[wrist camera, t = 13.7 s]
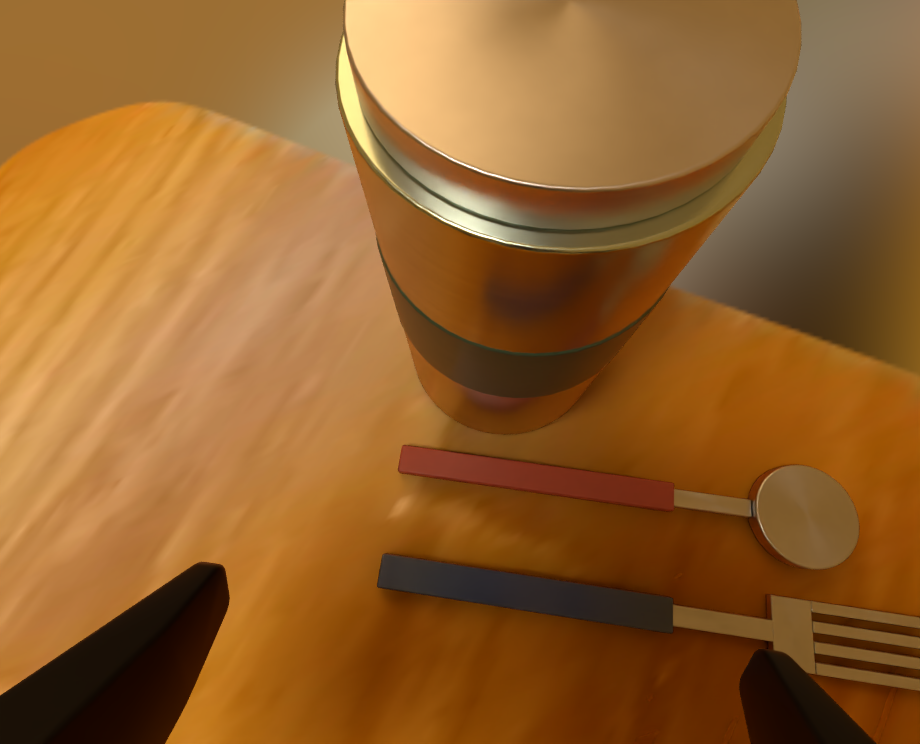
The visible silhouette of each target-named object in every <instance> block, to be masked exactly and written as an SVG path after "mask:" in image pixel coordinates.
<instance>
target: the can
mask: <svg viewBox="0 0 920 744" xmlns="http://www.w3.org/2000/svg"><path fill="white" fill-rule="evenodd" d="M800 50H801V19H800V14H799V9H798V4H797V0H345V1H344V6H343V34H342V36H341V41H340V45H339V50H338V55H337V60H336V81H335V83H336V91H337V99H338V106H339V110H340V113H341V117H342V119H343V123H344V127H345V130H346V134H347V137H348V140H349V144H350V147H351V150H352V153H353V157H354V161H355V164H356V168H357V171H358V174H359V178H360V181H361V185H362V188H363V191H364V195H365V198H366V202H367V205H368V208H369V212H370V215H371V219H372V222H373V225H374V229H375V232H376V238H377V245H378V249H379V252H380V256H381V259H382V262H383V266H384V269H385V272H386V276H387V279H388V282H389V286H390V289H391V292H392V296H393V299H394V302H395V306H396V309H397V312H398V315H399V318H400V322H401V324H402V326H403V328H404V331H405V334H406V338H407V341H408V344H409V348H410V351H411V355H412V358H413V361H414V365H415V368H416V371H417V374H418V378H419V380H420V382H421V384H422V386H423V388H424V390H425V391H426V393H427V394H428V396H429V397H430V398H431V400H432V401H433V402H434V403H435V404H436V405H437V407H439V408H440V409H441V410H442V411H443V412H444V413H445V414H447V415H448V416H449V417H451V418H452V419H454V420H455V421H457V422H459V423H461V424H463V425H465V426H467V427H469V428H472V429H475V430H478V431H482V432H487V433H492V434H504V435H505V434H519V433H524V432H530V431H533V430H536V429H539V428H542V427H544V426H546V425H548V424H550V423H552V422H553V421H555V420H556V419H558V418H559V417H561V416H562V415H563V414H565V413H566V412H567V411H568V410H569V409H570V408H571V407H572V406H573V405H574V404H575V403H576V401H577V400H578V399H579V398H580V397H581V395H582V394H583V393H584V392H585V390H586V389H587V388H588V387H589V385H590V384H591V383H592V382H593V380H594V379H595V378H596V377H597V375H598V374H599V373H600V372H601V370H602V369H603V368H604V367H605V366H606V365H607V364H608V363H609V362H610V361H611V360H612V359H613V358H614V356H615V355H616V354H617V353H618V352H619V350H620V349H621V348H622V347H623V346H624V344H625V343H626V342H627V341H628V339H629V338H630V337H631V336H632V335H633V333H634V332H635V331H636V330H637V328H638V327H639V326H640V325H641V323H642V322H643V321H644V320H645V319H646V317H647V316H648V315H649V314H650V312H651V311H652V310H653V309H654V307H655V306H656V305H657V304H658V303H659V301H660V300H661V299H662V298H663V296H664V294H665V293H666V291H667V290H668V288H669V286H670V285H671V283H672V282H673V281H674V279H675V278H676V277H677V276H678V274H679V273H680V272H681V271H682V270H683V268H684V267H685V266H686V264H687V263H688V262H689V260H691V258H692V257H693V256H694V255H695V253H696V252H697V251H698V250H699V248H700V247H701V246H702V244H703V243H704V242H705V241H706V240H707V238H708V237H709V236H710V235H711V233H712V232H713V231H714V230H715V228H716V227H717V226H718V225H719V223H720V222H721V221H722V220H723V218H724V217H725V216H726V215H727V213H728V212H729V211H730V210H731V208H732V207H733V206H734V205H735V203H736V202H737V201H738V200H739V199H740V197H741V196H742V195H743V194H744V192H745V191H746V190H747V189H748V187H749V186H750V185H751V184H752V182H753V181H754V180H755V179H756V177H757V176H758V175H759V173H760V172H761V170H762V169H763V167H764V165H765V164H766V162H767V160H768V159H769V157H770V155H771V154H772V152H773V150H774V147H775V144H776V142H777V139H778V137H779V134H780V132H781V129H782V124H783V118H784V113H785V107H786V99H787V93H788V91H789V89H790V86H791V84H792V81H793V78H794V76H795V73H796V71H797V66H798V60H799V55H800Z"/></svg>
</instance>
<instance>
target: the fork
mask: <svg viewBox="0 0 920 744" xmlns="http://www.w3.org/2000/svg"><path fill="white" fill-rule="evenodd" d="M377 587H378V588H383V589H389V590H396V591H402V592H409V593H415V594H421V595H428V596H434V597H440V598H447V599H453V600H459V601H466V602H472V603H479V604H485V605H491V606H498V607H504V608H510V609H517V610H523V611H530V612H536V613H542V614H549V615H555V616H561V617H568V618H574V619H580V620H587V621H593V622H600V623H606V624H612V625H619V626H625V627H631V628H638V629H644V630H650V631H657V632H663V633H670V634H672V633H673V626H675V627H681V628H688V629H694V630H700V631H707V632H713V633H720V634H726V635H732V636H739V637H745V638H752V639H758V640H764V641H768V649H770V650H776V651H781V652H784V653H786V654H787V655H789V656H790V657H791V658H792V659H793V660H794V661H795V662H796V663H797V664H798V665H799V666H800V667H801V668H802V669H803V670H804V671H805V672H806V673H809V674H816V675H821V676H828V677H834V678H840V679H847V680H853V681H859V682H865V683H872V684H878V685H884V686H891V687H897V688H903V689H910V690H916V691H920V678H917V677H911V676H904V675H898V674H892V673H885V672H879V671H873V670H866V669H860V668H854V667H847V666H841V665H835V664H828V663H822V662H816V661H815V657H814V653H816V654H822V655H828V656H835V657H841V658H847V659H854V660H860V661H867V662H873V663H879V664H886V665H892V666H898V667H905V668H911V669H918V670H920V657H915V656H909V655H902V654H896V653H889V652H883V651H877V650H870V649H864V648H857V647H851V646H844V645H838V644H831V643H825V642H819V641H813V633H819V634H826V635H832V636H839V637H845V638H852V639H858V640H864V641H871V642H877V643H884V644H890V645H897V646H903V647H910V648H916V649H920V637H917V636H910V635H904V634H897V633H891V632H884V631H877V630H871V629H864V628H858V627H851V626H845V625H838V624H832V623H825V622H819V621H812V615H811V612H813V613H820V614H826V615H833V616H840V617H846V618H853V619H859V620H866V621H872V622H879V623H885V624H892V625H899V626H905V627H912V628H918V629H920V617H915V616H909V615H902V614H895V613H889V612H882V611H875V610H869V609H862V608H856V607H849V606H842V605H836V604H829V603H823V602H816V601H809V600H803V599H796V598H790V597H783V596H776V595H770V594H766V609H767V619H766V618H760V617H754V616H747V615H741V614H734V613H728V612H721V611H715V610H708V609H702V608H695V607H689V606H682V605H676V604H673V598H671V597H668V596H662V595H656V594H649V593H643V592H636V591H630V590H623V589H617V588H610V587H604V586H597V585H591V584H584V583H578V582H571V581H564V580H558V579H551V578H545V577H538V576H532V575H525V574H519V573H512V572H506V571H499V570H493V569H486V568H480V567H473V566H466V565H460V564H453V563H447V562H440V561H434V560H427V559H421V558H414V557H408V556H401V555H395V554H388V553H385V554H383V555H382V560H381V566H380V571H379V577H378V582H377Z"/></svg>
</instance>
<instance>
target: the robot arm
mask: <svg viewBox="0 0 920 744" xmlns="http://www.w3.org/2000/svg"><path fill="white" fill-rule="evenodd" d="M229 599H230V597H229V590H228V584H227V577H226V571H225V568H224V567H223V566H222V565H220V564H215V563H209V562H199V563H197V564H195V565H193V566H191V567H190V568H189V569H187V570H186V571H184V572H183V573H181V574H180V575H178V576H177V577H175V578H174V579H172V580H171V581H169V582H168V583H166V584H165V585H163V586H162V587H160V588H159V589H157V590H156V591H154V592H153V593H151V594H150V595H148V596H147V597H146V598H144V599H143V600H141V601H140V602H138V603H137V604H135V605H134V606H132V607H131V608H129V609H128V610H126V611H125V612H123V613H122V614H120V615H119V616H117V617H116V618H114V619H113V620H111V621H110V622H108V623H107V624H105V625H104V626H103V627H101V628H100V629H98V630H97V631H95V632H94V633H92V634H91V635H89V636H88V637H86V638H85V639H83V640H82V641H80V642H79V643H77V644H76V645H74V646H73V647H71V648H70V649H68V650H67V651H65V652H64V653H62V654H61V655H60V656H58V657H57V658H55V659H54V660H52V661H51V662H49V663H48V664H46V665H45V666H43V667H42V668H40V669H39V670H37V671H36V672H34V673H33V674H31V675H30V676H28V677H27V678H25V679H24V680H22V681H21V682H19V683H18V684H17V685H15V686H14V687H12V688H11V689H9V690H8V691H6V692H5V693H3V694H2V695H0V744H165V743H166V741H167V739H168V737H169V735H170V733H171V732H172V730H173V728H174V726H175V724H176V723H177V721H178V719H179V717H180V715H181V713H182V711H183V709H184V707H185V705H186V703H187V701H188V699H189V697H190V695H191V692H192V690H193V688H194V686H195V684H196V681H197V679H198V677H199V674H200V672H201V670H202V667H203V665H204V663H205V660H206V658H207V656H208V654H209V651H210V649H211V647H212V644H213V642H214V640H215V637H216V635H217V633H218V630H219V628H220V626H221V624H222V621H223V619H224V617H225V614H226V612H227V609H228V606H229ZM739 691H740V697H741V702H742V706H743V711H744V715H745V720H746V724H747V729H748V733H749V738H750V742H751V744H876V743H875V742H874V741H873V740H872V739H871V738H870V737H869V736H868V735H867V734H866V733H865V732H864V730H863V729H862V728H861V727H860V726H859V725H858V724H857V723H856V722H855V721H854V720H853V719H852V718H851V717H850V716H849V715H848V714H847V713H846V712H845V711H844V710H843V709H842V708H841V707H840V706H839V705H838V704H837V703H836V702H835V701H834V700H833V699H832V698H831V697H830V696H829V695H828V694H827V693H826V692H825V691H824V690H823V689H822V688H821V687H820V686H819V685H818V684H817V683H816V682H815V681H814V680H813V679H812V678H811V677H810V676H809V675H808V674H807V673H806V672H805V671H804V670H803V669H802V668H801V667H800V666H799V665H798V664H797V663H796V662H795V661H794V660H793V659H792V658H791V657H790V656H789V655H787V654H786V653H784V652H781V651H776V650H770V649H763V648H760V649H758V650H756V651H755V652H754V654H753V656H752V658H751V659H750V661H749V663H748V665H747V667H746V668H745V670H744V672H743V674H742V676H741V678H740V683H739Z"/></svg>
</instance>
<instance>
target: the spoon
mask: <svg viewBox="0 0 920 744" xmlns="http://www.w3.org/2000/svg"><path fill="white" fill-rule="evenodd" d="M398 472H399V473H402V474H409V475H415V476H422V477H429V478H436V479H443V480H450V481H457V482H464V483H471V484H478V485H485V486H492V487H499V488H506V489H513V490H520V491H527V492H534V493H541V494H548V495H554V496H561V497H568V498H575V499H582V500H589V501H596V502H603V503H610V504H617V505H624V506H631V507H638V508H645V509H652V510H659V511H666V512H669V511H674V508H681V509H688V510H695V511H702V512H709V513H716V514H723V515H730V516H737V517H744V518H748V519H749V523H750V526H751V529H752V531H753V533H754V535H755V537H756V538H757V540H758V541H759V542H760V544H761V545H762V546H763V547H764V548H765V549H766V550H767V551H768V552H769V553H770V554H771V555H772V556H773V557H775V558H776V559H778V560H779V561H781V562H783V563H785V564H787V565H790V566H793V567H797V568H802V569H813V570H823V569H829V568H832V567H835V566H837V565H839V564H841V563H842V562H843V561H845V560H846V559H847V558H848V557H849V556H850V555H851V554H852V552H853V550H854V549H855V547H856V544H857V542H858V538H859V519H858V514H857V511H856V508H855V506H854V503H853V501H852V500H851V498H850V496H849V495H848V493H847V492H846V490H845V489H844V488H843V487H842V486H841V485H840V484H839V483H838V482H837V481H836V480H835V479H833V478H832V477H831V476H829V475H828V474H826V473H824V472H822V471H820V470H818V469H816V468H812V467H809V466H804V465H788V466H783V467H778V468H775V469H772V470H769V471H767V472H766V473H764V474H763V475H761V476H760V477H759V478H758V479H757V480H756V482H755V483H754V484H753V486H752V488H751V490H750V493H749V496H748V499H742V498H735V497H728V496H721V495H714V494H707V493H699V492H692V491H685V490H678V489H674V483H670V482H663V481H656V480H649V479H642V478H635V477H628V476H620V475H613V474H606V473H599V472H592V471H585V470H578V469H571V468H564V467H556V466H549V465H542V464H535V463H528V462H521V461H514V460H507V459H500V458H492V457H485V456H478V455H471V454H464V453H457V452H450V451H443V450H436V449H428V448H421V447H414V446H407V445H403V446H402V450H401V455H400V461H399V466H398Z"/></svg>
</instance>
